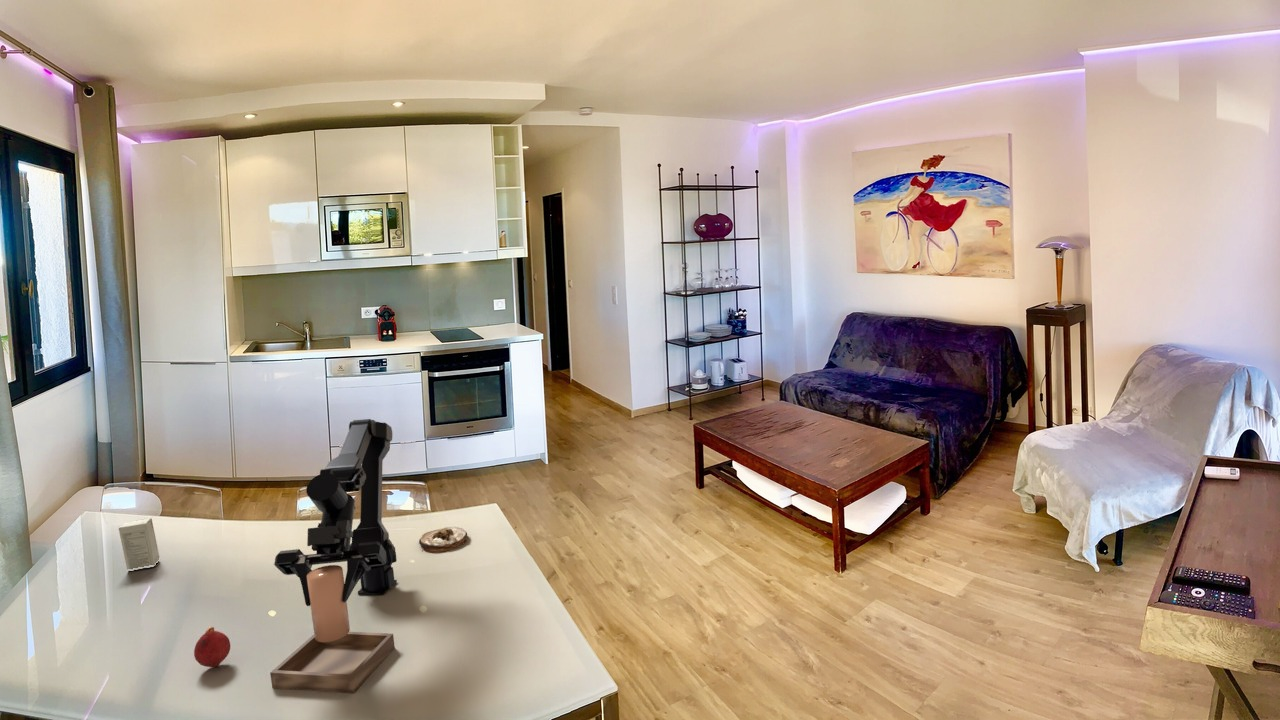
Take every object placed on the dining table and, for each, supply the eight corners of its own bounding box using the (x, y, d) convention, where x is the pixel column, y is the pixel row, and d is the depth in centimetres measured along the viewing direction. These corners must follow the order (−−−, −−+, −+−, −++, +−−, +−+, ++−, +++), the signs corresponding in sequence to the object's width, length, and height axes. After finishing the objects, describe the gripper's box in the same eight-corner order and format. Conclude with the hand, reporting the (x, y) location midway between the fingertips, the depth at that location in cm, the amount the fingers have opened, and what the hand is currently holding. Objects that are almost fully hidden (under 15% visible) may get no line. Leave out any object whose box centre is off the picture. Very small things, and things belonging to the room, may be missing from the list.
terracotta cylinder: (309, 634, 127) (301, 573, 126) (341, 621, 132) (334, 562, 130) (322, 646, 123) (314, 583, 122) (355, 631, 128) (348, 571, 126)
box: (272, 688, 123) (270, 672, 123) (320, 644, 137) (318, 630, 136) (353, 693, 120) (352, 677, 120) (394, 647, 134) (393, 633, 134)
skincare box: (160, 561, 181) (153, 517, 179) (155, 568, 177) (147, 523, 175) (132, 565, 179) (124, 521, 177) (125, 572, 175) (117, 527, 173)
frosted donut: (414, 538, 189) (412, 524, 188) (469, 529, 193) (468, 515, 193) (414, 560, 175) (413, 544, 174) (474, 549, 180) (473, 534, 179)
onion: (215, 677, 127) (209, 637, 126) (189, 675, 128) (183, 635, 127) (239, 659, 133) (234, 620, 132) (214, 657, 134) (208, 619, 133)
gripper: (271, 510, 127) (254, 595, 118) (376, 500, 129) (367, 583, 120) (292, 534, 136) (278, 614, 127) (389, 524, 138) (383, 603, 129)
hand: (326, 603), depth 125 cm, fingers closed on terracotta cylinder, 6 cm apart
